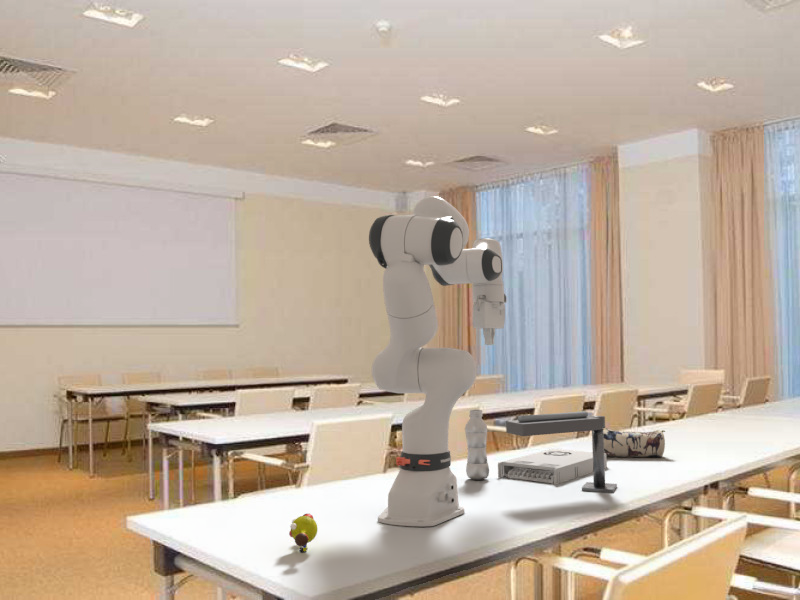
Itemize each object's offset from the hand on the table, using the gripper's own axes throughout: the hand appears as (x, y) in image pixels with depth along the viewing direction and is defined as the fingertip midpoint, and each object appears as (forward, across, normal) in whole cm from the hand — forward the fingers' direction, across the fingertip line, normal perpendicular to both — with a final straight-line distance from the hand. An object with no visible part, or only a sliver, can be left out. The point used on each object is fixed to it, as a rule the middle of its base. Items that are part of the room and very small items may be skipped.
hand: (489, 344), depth 212 cm
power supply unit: (+40, +23, -12) cm, 48 cm away
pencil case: (+39, +58, -32) cm, 77 cm away
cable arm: (+23, -7, -21) cm, 31 cm away
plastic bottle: (+39, +5, +6) cm, 40 cm away
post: (+39, +2, -29) cm, 49 cm away
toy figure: (+39, -75, +17) cm, 86 cm away
